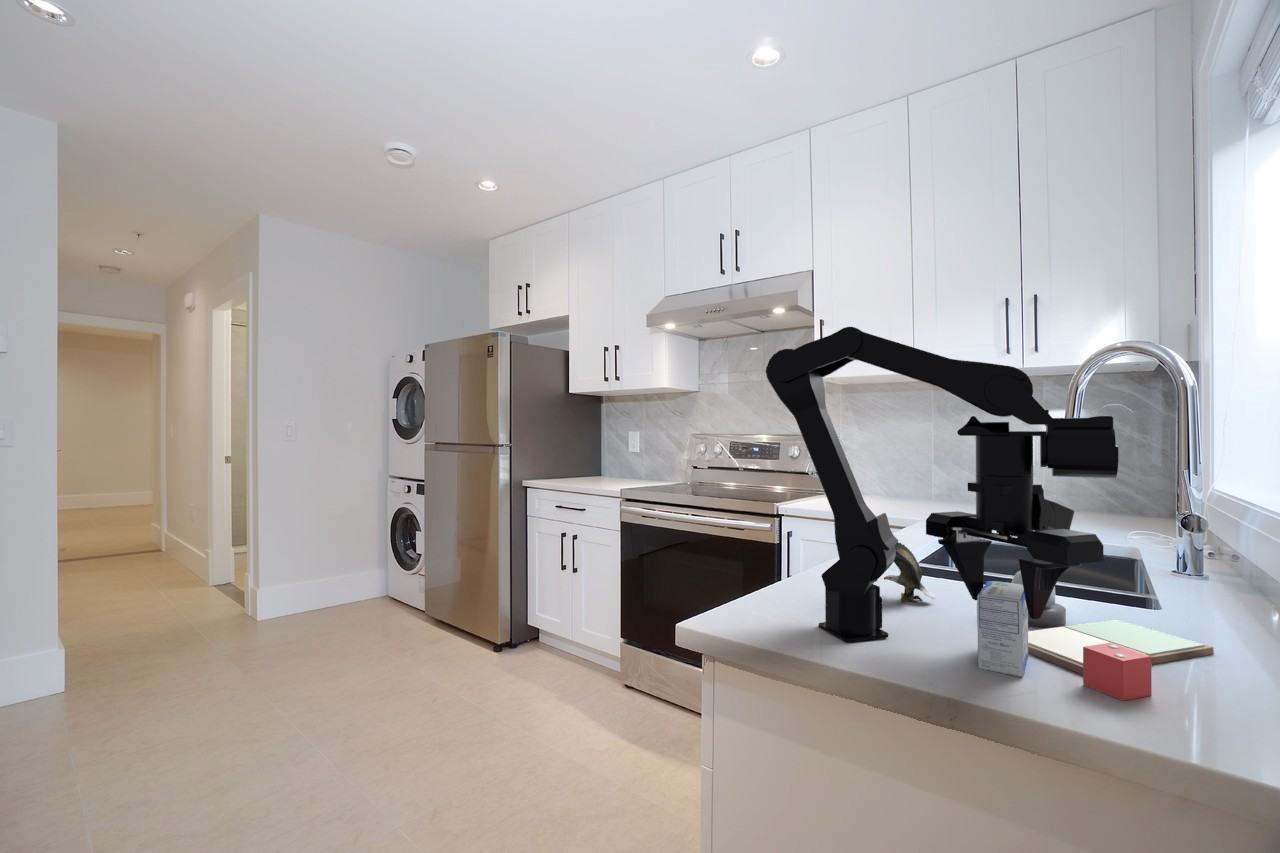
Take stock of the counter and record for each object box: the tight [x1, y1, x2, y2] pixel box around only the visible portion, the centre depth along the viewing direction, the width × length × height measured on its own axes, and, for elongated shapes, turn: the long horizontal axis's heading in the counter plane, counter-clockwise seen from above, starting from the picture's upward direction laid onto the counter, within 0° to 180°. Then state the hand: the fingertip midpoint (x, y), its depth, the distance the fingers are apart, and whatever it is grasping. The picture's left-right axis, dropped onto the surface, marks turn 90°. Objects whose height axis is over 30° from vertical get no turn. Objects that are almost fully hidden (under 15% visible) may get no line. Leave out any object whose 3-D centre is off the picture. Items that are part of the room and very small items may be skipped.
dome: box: [1011, 570, 1056, 606], centre depth 85 cm, size 5×5×5 cm
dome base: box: [1028, 602, 1067, 629], centre depth 85 cm, size 8×8×2 cm
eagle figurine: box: [883, 541, 936, 604], centre depth 93 cm, size 8×7×9 cm
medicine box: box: [976, 580, 1029, 678], centre depth 69 cm, size 8×4×9 cm, turn 143°
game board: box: [1028, 618, 1215, 675], centre depth 73 cm, size 21×11×1 cm, turn 107°
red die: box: [1082, 643, 1153, 701], centre depth 62 cm, size 4×4×4 cm
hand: (1004, 608), depth 69 cm, fingers open, 7 cm apart
